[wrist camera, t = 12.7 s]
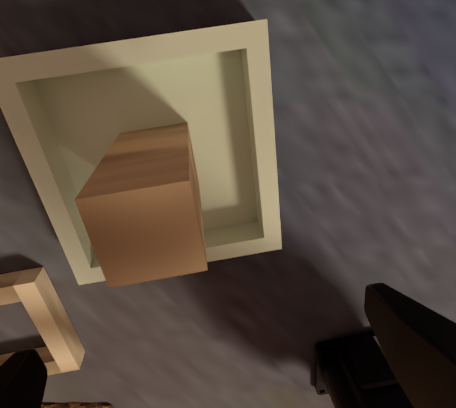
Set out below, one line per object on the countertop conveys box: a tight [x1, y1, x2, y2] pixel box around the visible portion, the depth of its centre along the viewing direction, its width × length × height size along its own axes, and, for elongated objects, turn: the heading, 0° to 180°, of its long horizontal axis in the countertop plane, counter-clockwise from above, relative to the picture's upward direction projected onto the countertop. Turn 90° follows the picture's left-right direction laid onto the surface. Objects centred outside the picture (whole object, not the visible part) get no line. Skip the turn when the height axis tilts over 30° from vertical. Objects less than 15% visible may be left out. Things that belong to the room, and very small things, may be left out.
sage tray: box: [0, 19, 282, 285], centre depth 18 cm, size 12×12×2 cm
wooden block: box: [75, 122, 208, 288], centre depth 15 cm, size 4×4×8 cm
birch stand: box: [0, 267, 85, 375], centre depth 22 cm, size 8×8×2 cm
